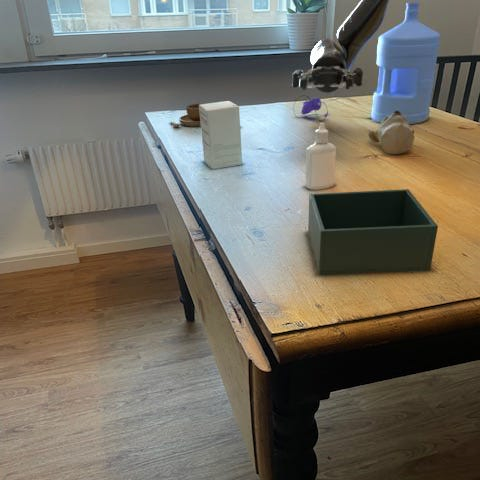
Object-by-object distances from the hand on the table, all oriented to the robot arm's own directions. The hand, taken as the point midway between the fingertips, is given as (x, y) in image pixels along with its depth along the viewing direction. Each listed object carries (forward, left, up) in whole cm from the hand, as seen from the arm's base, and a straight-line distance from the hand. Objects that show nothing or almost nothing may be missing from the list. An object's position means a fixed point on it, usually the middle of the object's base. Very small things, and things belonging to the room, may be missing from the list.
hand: (325, 83), depth 99 cm
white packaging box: (+22, -8, -17) cm, 29 cm away
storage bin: (-1, +40, -17) cm, 43 cm away
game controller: (-4, -49, -17) cm, 52 cm away
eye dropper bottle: (+2, +11, -17) cm, 20 cm away
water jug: (-27, -42, -17) cm, 53 cm away
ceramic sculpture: (-18, -13, -17) cm, 28 cm away
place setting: (+29, -47, -17) cm, 58 cm away
